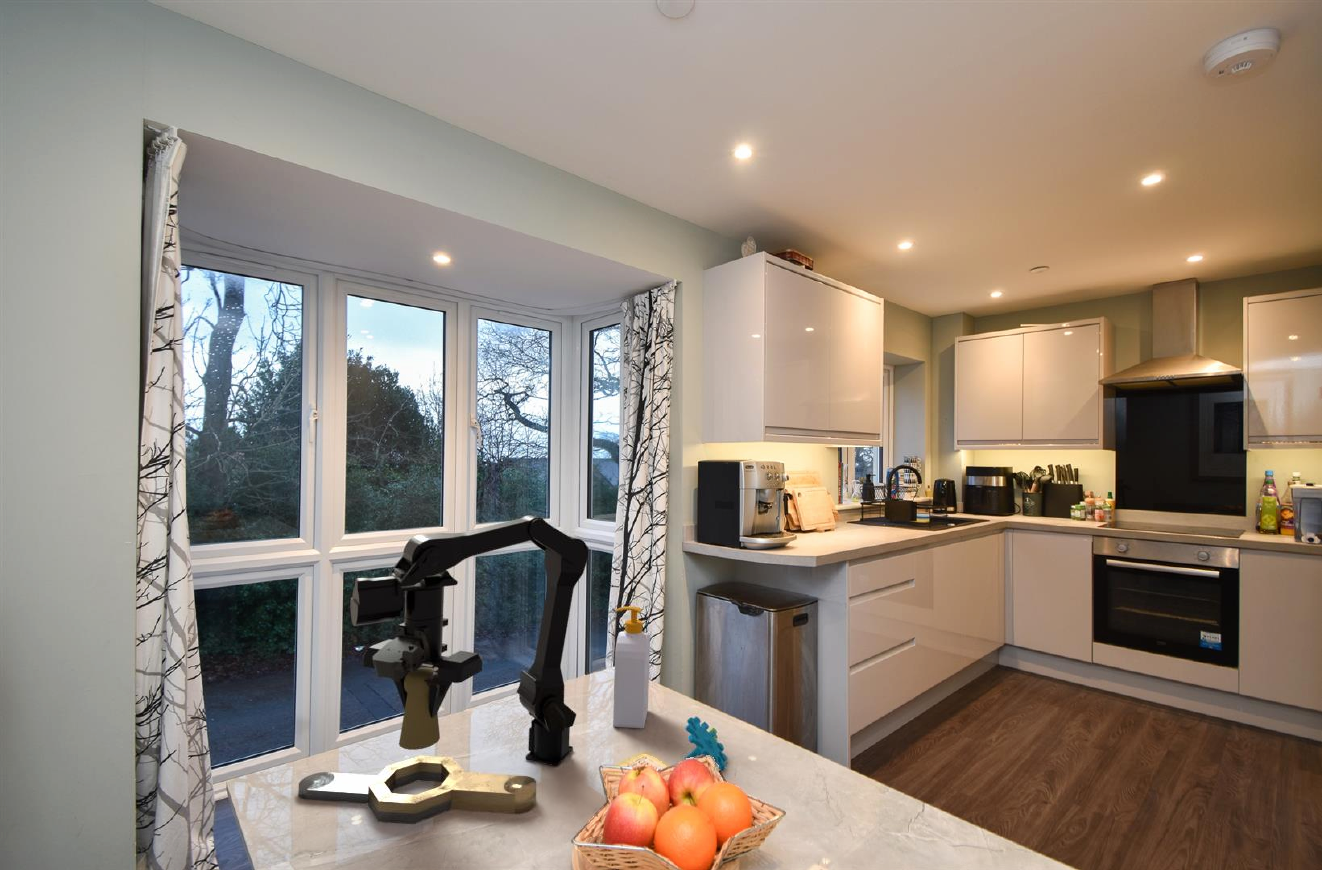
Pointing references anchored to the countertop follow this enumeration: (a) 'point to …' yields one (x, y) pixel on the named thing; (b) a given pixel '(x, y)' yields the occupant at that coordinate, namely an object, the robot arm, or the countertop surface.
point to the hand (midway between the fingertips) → (420, 714)
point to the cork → (418, 713)
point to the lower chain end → (356, 791)
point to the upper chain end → (454, 789)
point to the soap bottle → (631, 674)
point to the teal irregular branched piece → (705, 741)
